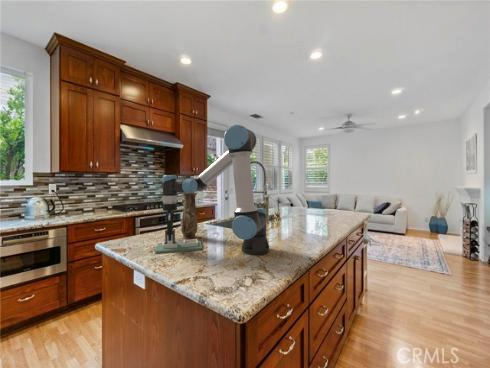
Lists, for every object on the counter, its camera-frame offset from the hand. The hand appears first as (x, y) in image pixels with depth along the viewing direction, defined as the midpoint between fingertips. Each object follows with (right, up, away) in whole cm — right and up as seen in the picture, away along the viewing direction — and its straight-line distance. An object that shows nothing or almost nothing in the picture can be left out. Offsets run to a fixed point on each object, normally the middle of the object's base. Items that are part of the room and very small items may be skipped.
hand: (170, 244), depth 128 cm
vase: (+6, -1, +22) cm, 23 cm away
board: (+5, -2, +1) cm, 5 cm away
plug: (0, -1, 0) cm, 1 cm away
